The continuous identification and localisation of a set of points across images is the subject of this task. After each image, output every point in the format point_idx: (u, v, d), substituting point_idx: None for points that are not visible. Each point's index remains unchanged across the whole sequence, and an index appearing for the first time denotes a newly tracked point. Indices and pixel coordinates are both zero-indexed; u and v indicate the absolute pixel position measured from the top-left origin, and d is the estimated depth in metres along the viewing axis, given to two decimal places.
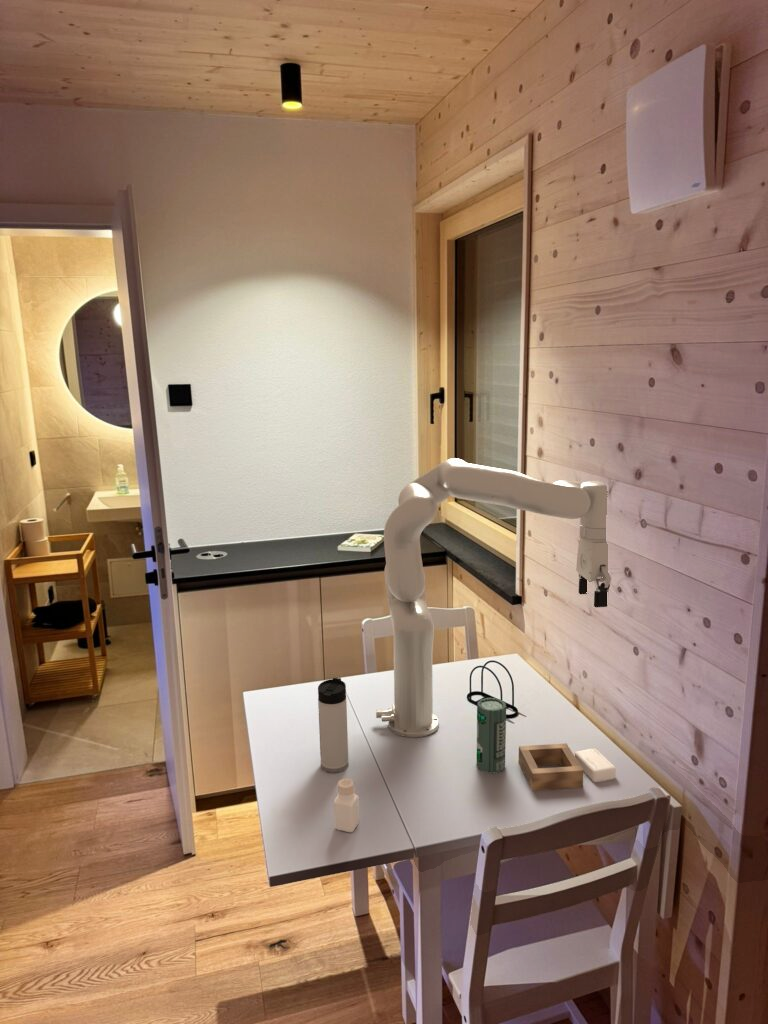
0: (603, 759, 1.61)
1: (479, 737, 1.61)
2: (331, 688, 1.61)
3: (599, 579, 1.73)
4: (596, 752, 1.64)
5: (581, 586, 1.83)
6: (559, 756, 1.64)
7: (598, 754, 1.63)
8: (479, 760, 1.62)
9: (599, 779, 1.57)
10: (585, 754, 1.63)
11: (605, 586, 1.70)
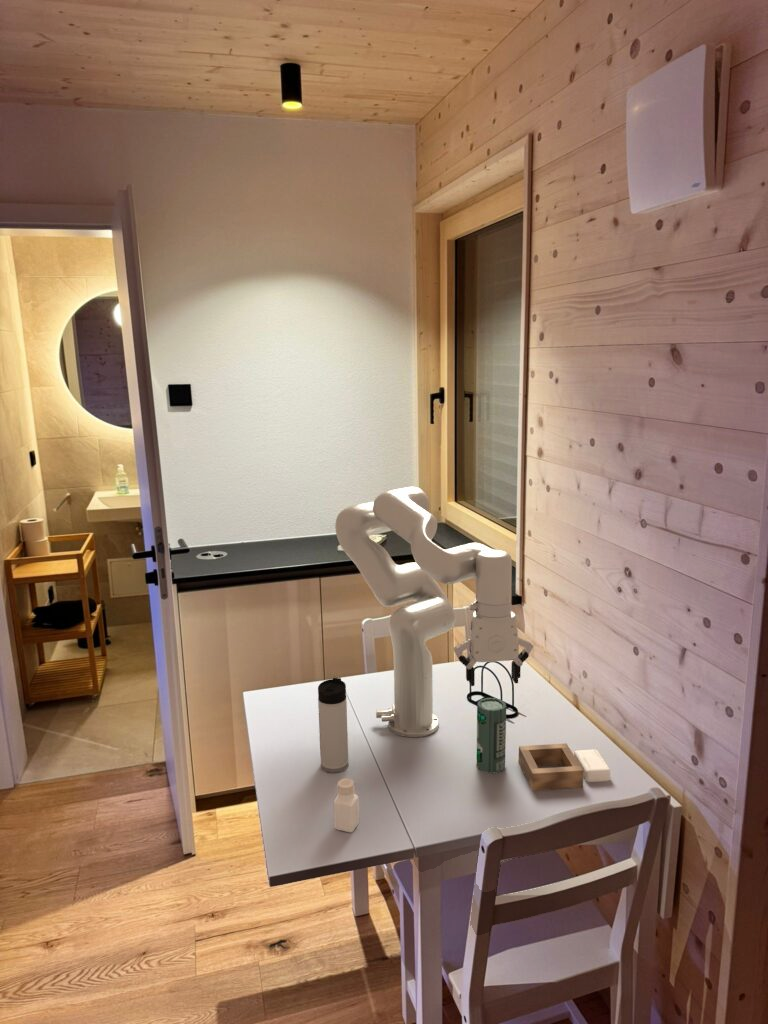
0: (600, 760, 1.60)
1: (479, 737, 1.61)
2: (331, 688, 1.61)
3: None
4: (596, 753, 1.63)
5: None
6: (559, 756, 1.64)
7: (597, 755, 1.62)
8: (479, 760, 1.62)
9: (591, 779, 1.57)
10: (584, 753, 1.63)
11: None
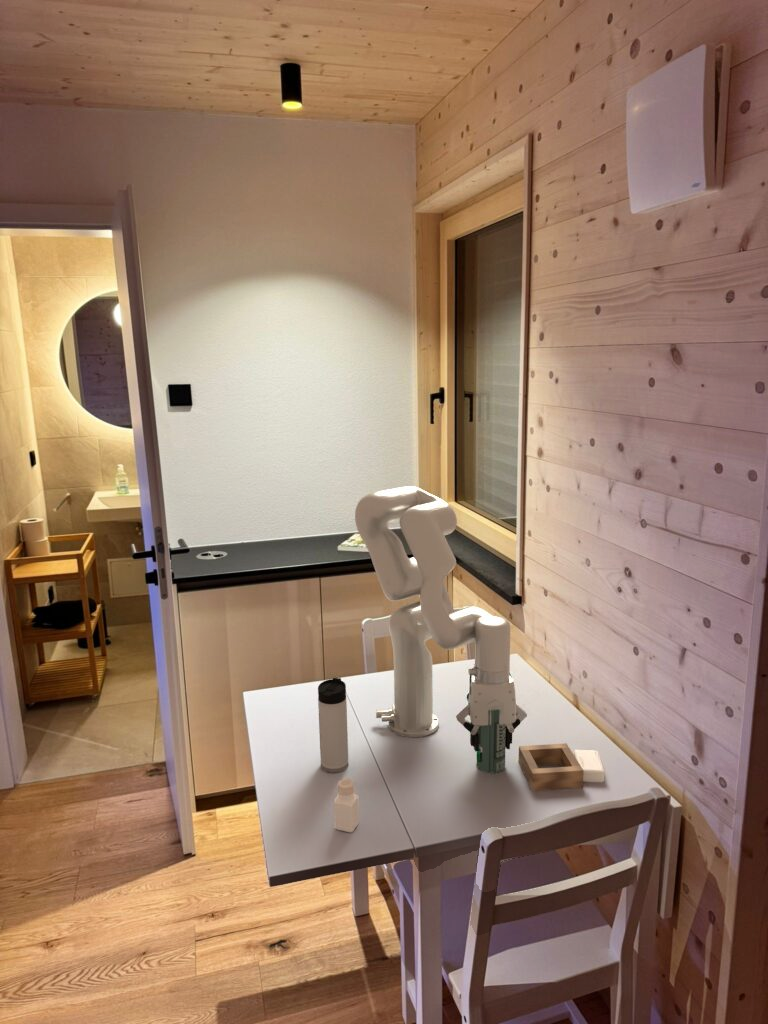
0: (597, 761, 1.60)
1: (479, 737, 1.61)
2: (331, 688, 1.61)
3: None
4: (595, 754, 1.63)
5: None
6: (559, 756, 1.64)
7: (595, 756, 1.62)
8: (479, 760, 1.62)
9: (584, 779, 1.57)
10: (582, 753, 1.63)
11: None
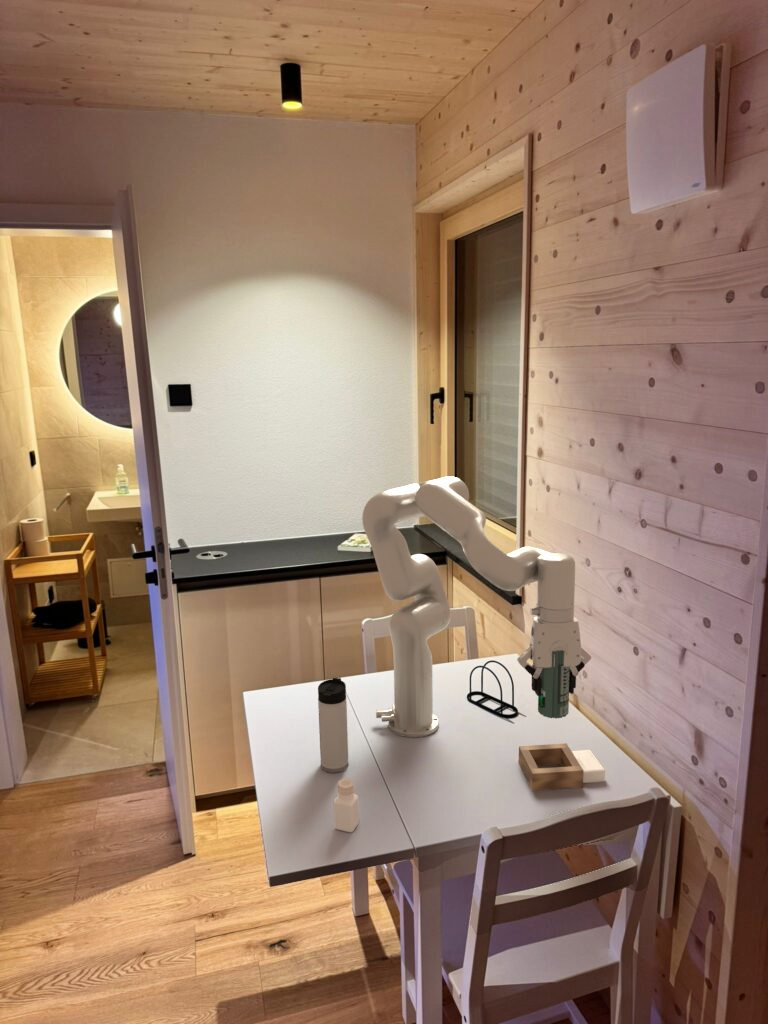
0: (594, 761, 1.60)
1: (542, 681, 1.54)
2: (331, 688, 1.61)
3: None
4: (589, 754, 1.63)
5: None
6: (559, 756, 1.64)
7: (591, 756, 1.62)
8: (541, 705, 1.55)
9: (586, 780, 1.56)
10: (577, 754, 1.63)
11: None
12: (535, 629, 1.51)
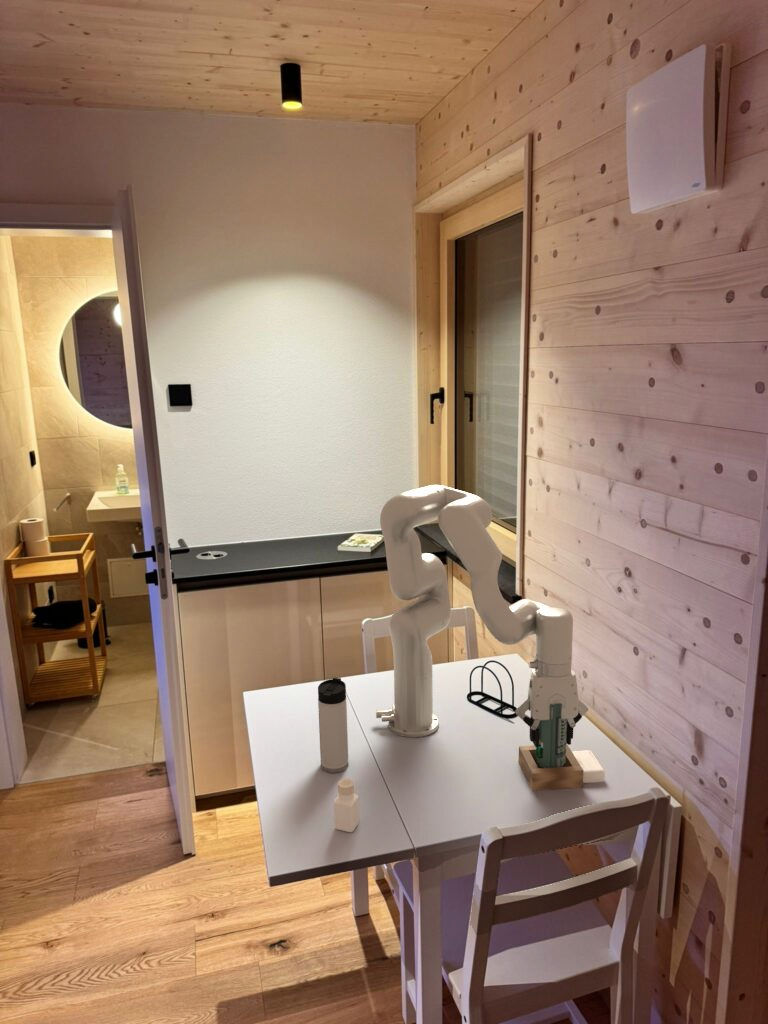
0: (594, 761, 1.60)
1: (539, 732, 1.56)
2: (331, 688, 1.61)
3: None
4: (590, 754, 1.63)
5: None
6: None
7: (591, 756, 1.62)
8: (539, 756, 1.58)
9: (586, 780, 1.56)
10: (578, 754, 1.63)
11: None
12: (533, 682, 1.53)
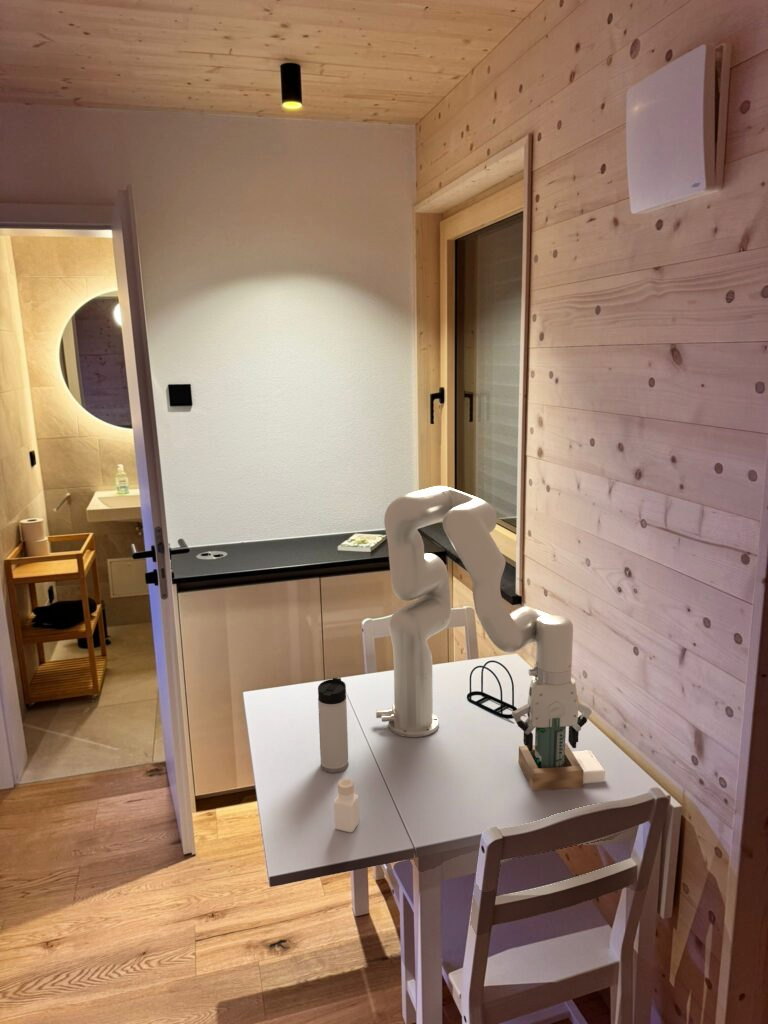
0: (594, 761, 1.60)
1: (538, 745, 1.57)
2: (331, 688, 1.61)
3: None
4: (590, 754, 1.63)
5: None
6: None
7: (591, 756, 1.62)
8: None
9: (586, 781, 1.56)
10: (578, 755, 1.63)
11: None
12: (533, 690, 1.54)
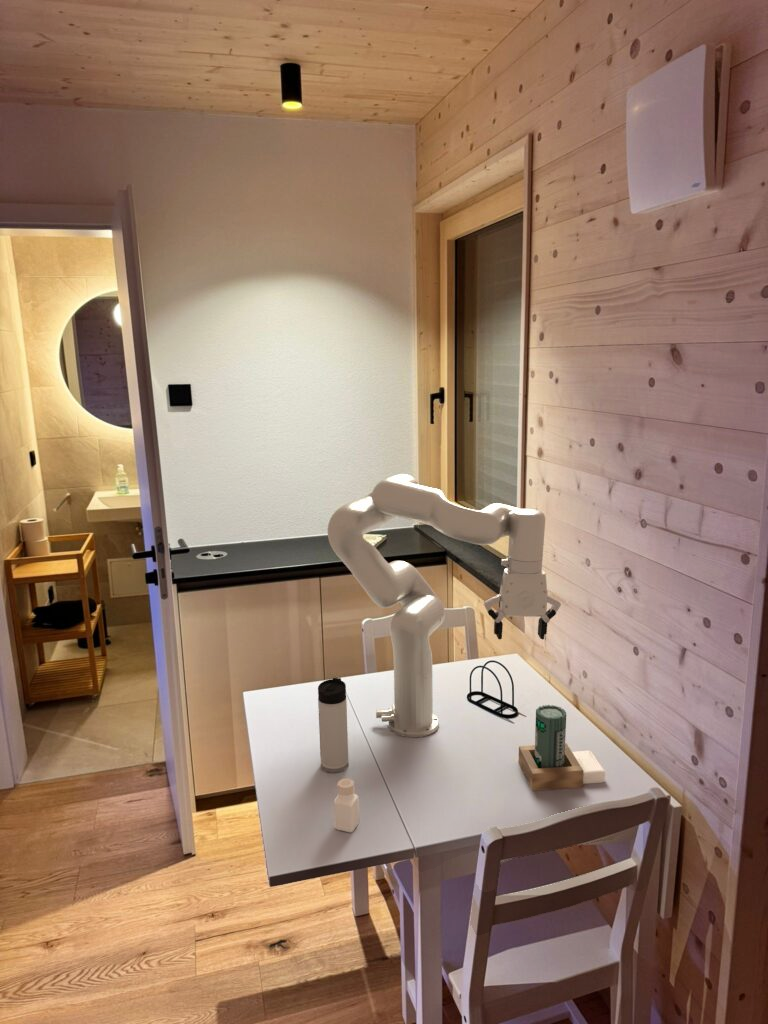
0: (594, 762, 1.60)
1: (538, 745, 1.57)
2: (331, 688, 1.61)
3: None
4: (590, 754, 1.63)
5: None
6: None
7: (591, 757, 1.62)
8: None
9: (586, 781, 1.56)
10: (578, 755, 1.63)
11: None
12: (504, 579, 1.60)
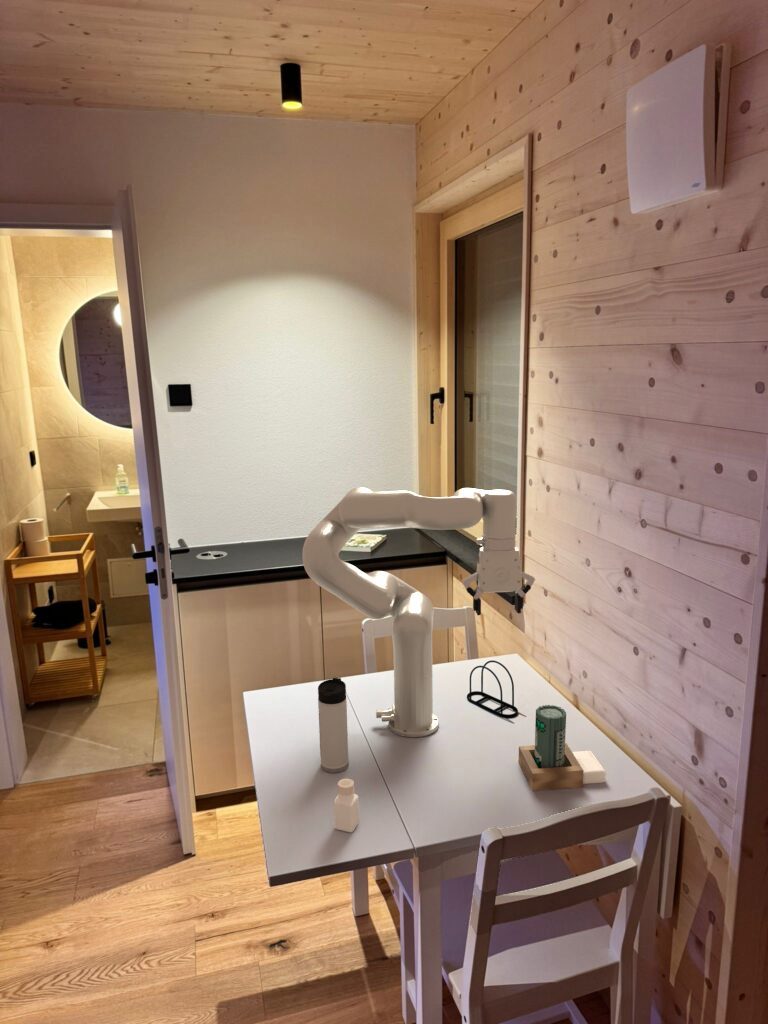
0: (595, 762, 1.60)
1: (538, 745, 1.57)
2: (331, 688, 1.61)
3: None
4: (590, 754, 1.62)
5: (480, 606, 1.71)
6: None
7: (591, 757, 1.62)
8: None
9: (587, 781, 1.56)
10: (578, 755, 1.62)
11: None
12: (480, 557, 1.69)
